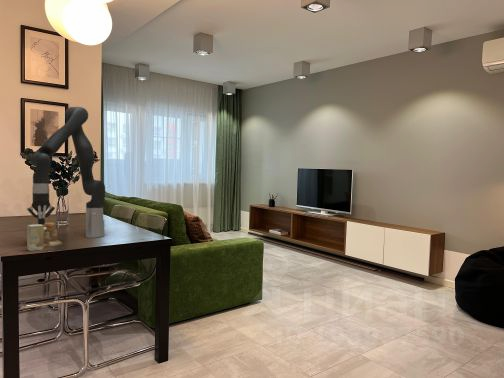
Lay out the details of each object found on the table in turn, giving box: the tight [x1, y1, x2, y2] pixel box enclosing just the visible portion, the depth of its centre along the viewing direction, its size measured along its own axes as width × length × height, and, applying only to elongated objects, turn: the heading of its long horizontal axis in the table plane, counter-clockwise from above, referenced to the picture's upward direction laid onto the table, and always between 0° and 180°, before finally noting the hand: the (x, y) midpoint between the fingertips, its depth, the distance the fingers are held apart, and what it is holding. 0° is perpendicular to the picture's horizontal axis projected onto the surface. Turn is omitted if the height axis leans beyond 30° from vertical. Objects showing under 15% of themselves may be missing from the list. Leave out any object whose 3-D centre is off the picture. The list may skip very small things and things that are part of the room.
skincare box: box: [26, 223, 45, 252], centre depth 183 cm, size 6×4×12 cm
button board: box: [25, 227, 63, 248], centre depth 197 cm, size 13×17×7 cm
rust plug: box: [43, 221, 55, 231], centre depth 199 cm, size 5×5×7 cm
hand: (41, 225), depth 192 cm, fingers closed
